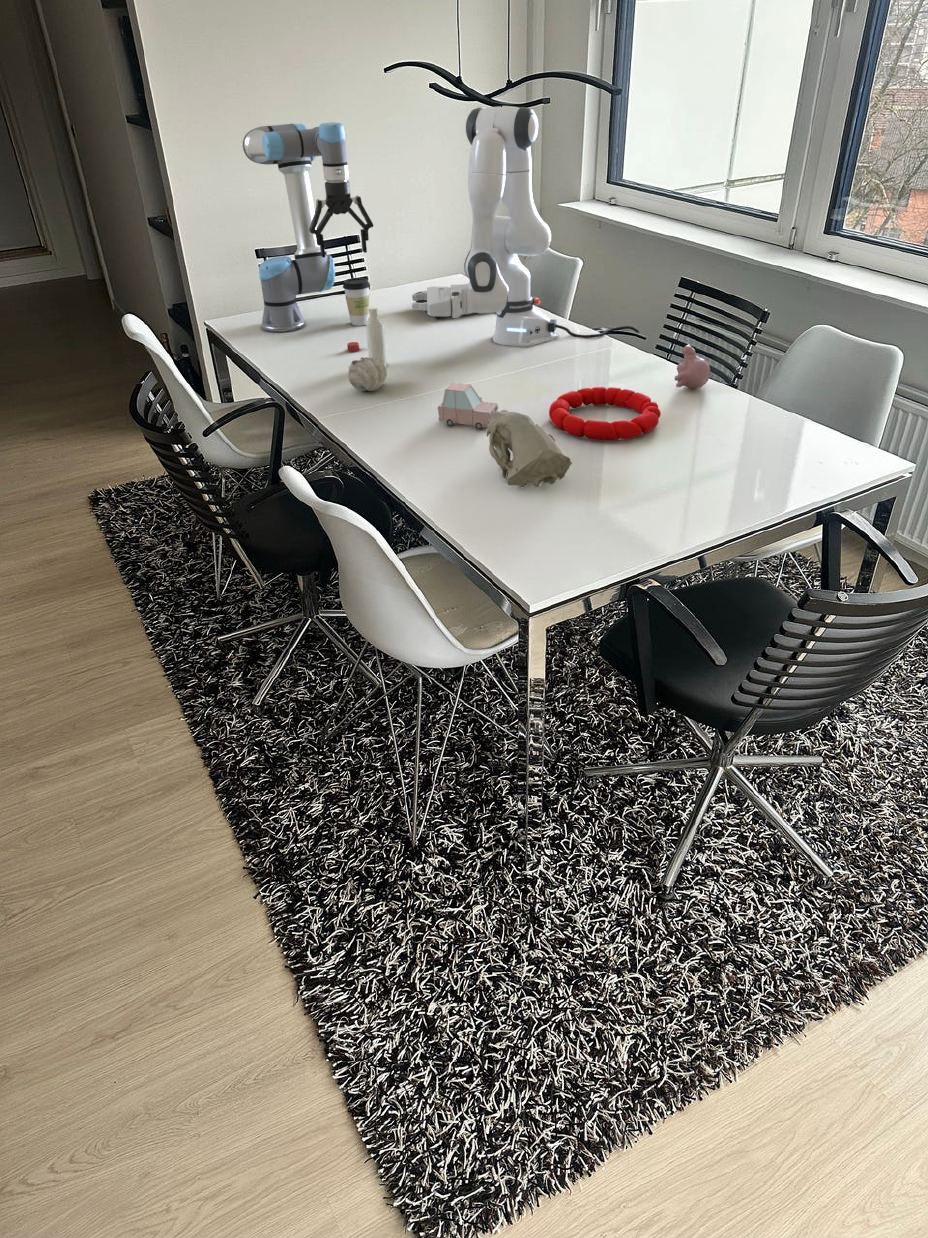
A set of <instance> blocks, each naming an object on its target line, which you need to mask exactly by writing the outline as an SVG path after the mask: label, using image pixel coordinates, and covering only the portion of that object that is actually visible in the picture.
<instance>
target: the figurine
mask: <svg viewBox="0 0 928 1238" xmlns="http://www.w3.org/2000/svg"><path fill="white" fill-rule="evenodd" d="M682 354H683V358H684V359H683V361H682V362H679V363H678V364H677V365H676V372H677V375H675V376H674V381H675V382H676V381H677V382H676V384H675V386H676V388H681V387H686V388H688V389H693V390H694V389H695V390H696V389H700V388H703V387H704V386H705V385H706V384H707V383H708V382H709V379H710V377H711V367H710V364H709V362H708V361H706V359H704V358H702V357H700V356H697V353H696V350H695V349H694V347H692V345H690V344H686V345H685V346H684V347H683V348H682Z"/></svg>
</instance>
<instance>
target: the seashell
mask: <svg viewBox="0 0 928 1238" xmlns="http://www.w3.org/2000/svg"><path fill="white" fill-rule="evenodd" d="M387 377H388V368H387V366H385V364H384V362H383V361H381V362H380V361H379V360H378V359H377V358H376V359H375V358H369V356H367V357H363V356H362V357H360V359H359V360H357V359H353V360H351V362H350V364H349V366H348V371H347V378H348V382H349V384H350V385H351V386H352V387H353V388H354V389H355V390H357V391H361V392H364V391H365V392H366V391H368V392H373V391H377V390H379V389H380V388H381V387H382V386H383V384H384V383H385V382H386V380H387Z"/></svg>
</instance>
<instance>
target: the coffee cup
mask: <svg viewBox="0 0 928 1238" xmlns="http://www.w3.org/2000/svg"><path fill="white" fill-rule="evenodd" d="M370 287H371V283H370V282H369V279H367V278H365V277H351V278H347V279H345V280H344V281H343V285H342V288H343V290H344V297H345V301H346V305H347V310H348V314H349V318H350V323H351V325H353V326H357V327H359V326H366V322H367V321H368V319H369V317H370V312H369V308H370Z"/></svg>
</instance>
